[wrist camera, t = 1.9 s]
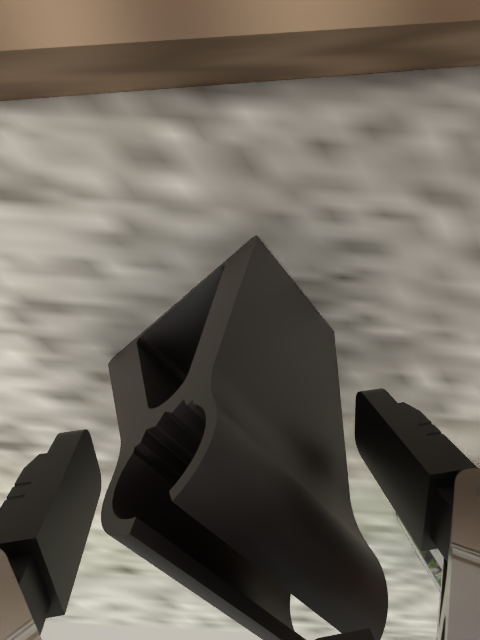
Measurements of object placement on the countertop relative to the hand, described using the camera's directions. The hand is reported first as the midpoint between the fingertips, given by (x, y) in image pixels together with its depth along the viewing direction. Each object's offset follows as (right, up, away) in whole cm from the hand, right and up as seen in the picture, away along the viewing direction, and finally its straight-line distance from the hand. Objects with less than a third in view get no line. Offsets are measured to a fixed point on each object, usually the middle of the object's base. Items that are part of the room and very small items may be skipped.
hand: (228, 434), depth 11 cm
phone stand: (0, +2, +7) cm, 7 cm away
